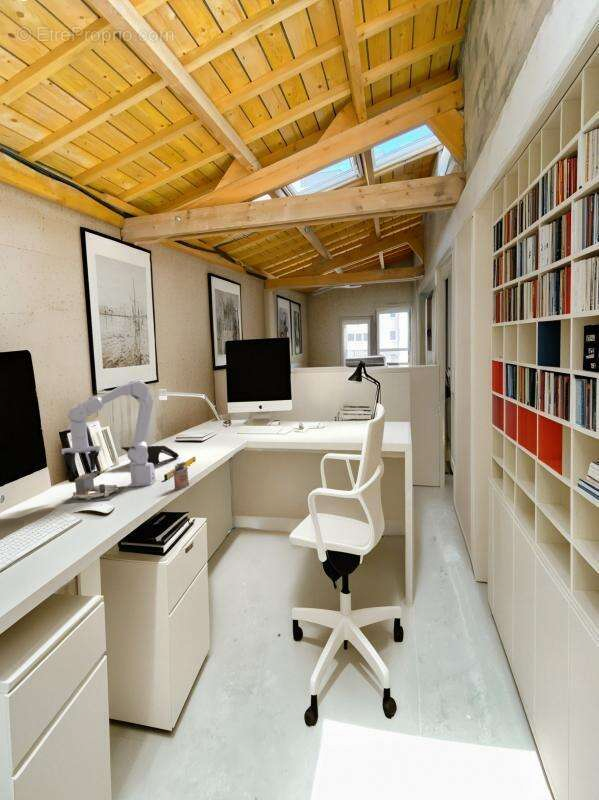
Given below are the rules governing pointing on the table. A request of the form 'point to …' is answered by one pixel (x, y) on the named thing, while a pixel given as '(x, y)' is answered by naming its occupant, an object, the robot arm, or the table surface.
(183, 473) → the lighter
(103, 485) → the sprocket
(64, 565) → the table surface
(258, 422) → the table surface
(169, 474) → the spirit level
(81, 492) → the orange striped gray block
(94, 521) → the table surface
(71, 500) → the base plate
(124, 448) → the portable electronic device stand
